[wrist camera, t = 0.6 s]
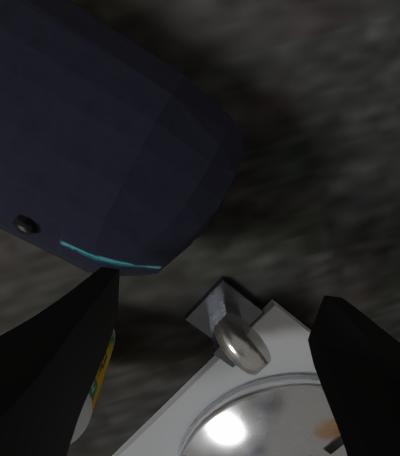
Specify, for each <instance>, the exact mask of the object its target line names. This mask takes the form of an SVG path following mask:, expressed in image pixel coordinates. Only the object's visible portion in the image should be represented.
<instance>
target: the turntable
mask: <svg viewBox="0 0 400 456" xmlns="http://www.w3.org/2000/svg"><path fill="white" fill-rule="evenodd" d="M177 456H347V453H346V449H345V446H344V444H343V441H342V438H341V435H340V432H339V429H338V427H337V424H336V422H335V419H334V417H333V414H332V412H331V409H330V406H329V404H328V401H327V399H326V396H325V394H324V391H323V389H322V386H321V383H320V381H319V378H318V376H313V375H283V376H276V377H269V378H265V379H261V380H257V381H254V382H251V383H248V384H245V385H243V386H240V387H238V388H236V389H234V390H232V391H230V392H228V393H226V394H224V395H223V396H221V397H220V398H218V399H217V400H215V401H214V402H212V403H211V404H210V405H209V406H208V407H206V408H205V409H204V410H203V411H202V412H201V413H200V414H199V415H198V416H197V417H196V418H195V419H194V421H193V422H192V423H191V425H190V426H189V428H188V429H187V431H186V433H185V435H184V437H183V439H182V441H181V444H180V447H179V450H178V455H177Z"/></svg>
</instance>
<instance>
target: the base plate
mask: <svg viewBox="0 0 400 456" xmlns="http://www.w3.org/2000/svg"><path fill="white" fill-rule="evenodd" d="M263 310H264V314H263V315H262V316H261V317H260V318H259V319H258V320H257V321H256V322H255V323H254V324H253V325H252V326H251V327H252V328H253V329H254V330H255V331H256V332H257V333H258V334H259V336H260V337H261V338H262V340H263V341H264V343H265V344H266V346H267V348H268V350H269V352H270V355H271V362H270V363H269V364H268V365H267V366H266V367H265V368H263V369H262V370H261V371H260V372H259V373H258V374H257V375H250V374H248V373H246V372H244V371H243V370H241V369H240V368H238V367H237V366H236V365H235V366H234V367H231V366H230V365H228V364H227V363H225V362H224V361H223V360H221V359H220V358H218V357H217V356H216V355H215V356H214V357H213V358H211V359H210V360H209V361H208V362H207V363H206V364H205V365H204V366H203V367H202V368H201V369H200V370H199V371H198V372H197V373H196V374H195V375H194V376H193V377H192V378H191V379H190V380H189V381H188V382H187V383H186V384H185V385H184V386H183V387H182V388H181V389H180V390H179V391H178V392H177V393H176V394H175V395H174V396H173V397H172V398H171V399H170V400H168V401H167V402H166V403H165V404H164V405H163V406H162V407H161V408H160V409H159V410H158V411H157V412H156V413H155V414H154V415H153V416H152V417H151V418H150V419H149V420H148V421H147V422H146V423H145V424H144V425H143V426H142V427H141V428H140V429H139V430H138V431H137V432H136V433H135V434H134V435H133V436H132V437H131V438H130V439H129V440H128V441H126V442H125V443H124V444H123V445H122V446H121V447H120V448H119V449H118V450H117V451H116V452H115V453H114V454H113V455H112V456H177V455H178V450H179V447H180V444H181V441H182V439H183V437H184V435H185V433H186V431H187V429H188V428H189V426H190V425H191V423H192V422H193V421H194V419H195V418H196V417H197V416H198V415H199V414H200V413H201V412H202V411H203V410H204V409H205V408H206V407H208V406H209V405H210V404H211V403H212V402H214V401H215V400H217V399H218V398H220V397H221V396H223V395H224V394H226V393H228V392H230V391H232V390H234V389H236V388H238V387H240V386H243V385H245V384H248V383H251V382H254V381H257V380H261V379H265V378H269V377H276V376H283V375H313V376H318V375H317V373H316V370H315V367H314V364H313V360H312V356H311V352H310V347H309V343H308V338H309V335H310V332H311V330H310V329H309V328H308V327H306V326H305V325H304V324H303V323H301V322H300V321H299V320H298V319H296V318H295V317H294V316H293V315H291V314H290V313H289V312H288V311H286V310H285V309H284V308H283V307H281V306H280V305H279V304H278V303H276V302H275V301H274V300H273V299H272V300H271V301H270V302H269V303H268V304H267V305H266V306H265V307H264V308H263Z"/></svg>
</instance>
